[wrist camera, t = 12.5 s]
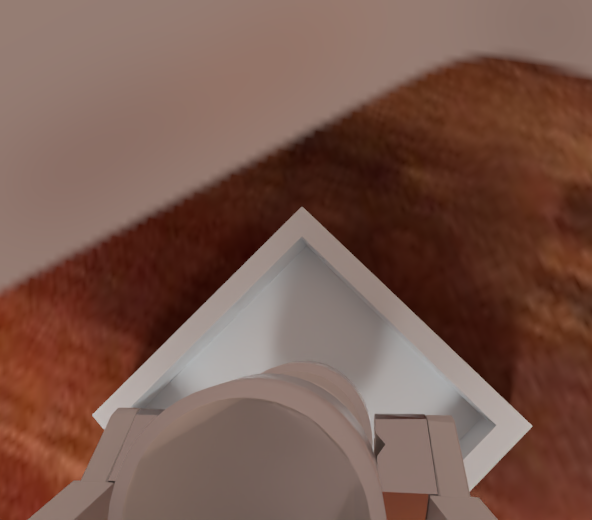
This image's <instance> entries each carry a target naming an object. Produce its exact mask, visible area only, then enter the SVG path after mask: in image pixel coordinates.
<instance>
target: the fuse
mask: <svg viewBox="0 0 592 520" xmlns="http://www.w3.org/2000/svg"><path fill="white" fill-rule="evenodd" d="M372 447H373V440H372V430H371V424H370V419H369V414H368V410H367V407H366V404H365V401H364V399H363V397H362V395H361V394H360V392H359V391H358V389H357V388H356V386H355V385H354V384H353V383H352V382H351V380H349V379H348V378H347V377H346V376H345V375H344V374H342V373H341V372H340V371H338V370H337V369H335V368H333V367H331V366H329V365H326V364H323V363H319V362H315V361H294V362H289V363H286V364H283V365H279V366H276V367H273V368H270V369H268V370H266V371H264V372H262V373H260V374H255V375H250V376H244V377H241V378H238V379H234V380H231V381H228V382H225V383H222V384H218V385H215V386H212V387H209V388H206V389H203V390H200V391H197V392H194V393H192V394H190V395H188V396H186V397H184V398H182V399H180V400H179V401H177V402H176V403H174V404H173V405H171V406H170V407H168V408H167V409H165V410H164V411H163V412H162V413H161V414H160V415H158V416H157V417H156V418H155V419H154V420H153V421H152V422H151V423H150V424H149V425H148V426H147V427H146V428H145V430H144V431H143V432H142V433H141V434H140V435H139V437H138V438H137V440H136V441H135V443H134V444H133V446H132V447H131V449H130V450H129V452H128V454H127V456H126V458H125V460H124V462H123V464H122V466H121V468H120V470H119V473H118V476H117V479H116V481H115V484H114V488H113V492H112V496H111V500H110V506H109V514H108V520H387V519H386V512H385V506H384V500H383V494H382V488H381V483H380V477H379V472H378V467H377V462H376V458H375V455H374V452H373V449H372Z"/></svg>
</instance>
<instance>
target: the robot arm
mask: <svg viewBox="0 0 592 520" xmlns="http://www.w3.org/2000/svg"><path fill="white" fill-rule="evenodd" d="M164 410H165V409H147V408H117V410H116V411H115V412H114V413H113V414H112V415H111V417H110V419H109V422H108V424H107V426H106V428H105V430H104V432H103V434H102V436H101V438H100V441H99V443H98V445H97V447H96V449H95V451H94V453H93V455H92V458H91V460H90V462H89V464H88V466H87V468H86V470H85V472H84V474H83V477H82V479H81V481H73V482H71V483H70V484H69V485H68V486H67V487H66V488H64V489H63V490H62V491H61V492H60V493H59V494H57V495H56V496H55V497H54V498H53V499H51V500H50V501H49V502H48V503H47V504H46V505H44V506H43V507H42V508H41V509H40V510H39V511H37V512H36V513H35V514H34V515H33V516H32V517H30V518H29V519H28V520H108V514H109V506H110V500H111V496H112V492H113V488H114V484H115V481H116V479H117V476H118V473H119V470H120V468H121V466H122V464H123V462H124V460H125V458H126V456H127V454H128V452H129V450H130V449H131V447H132V446H133V444H134V443H135V441H136V440H137V438H138V437H139V435H140V434H141V433H142V432H143V431H144V430H145V428H146V427H147V426H148V425H149V424H150V423H151V422H152V421H153V420H154V419H155V418H156V417H157V416H158V415H160V414H161V413H162V412H163V411H164ZM374 436H375V438H374V455H375V458H376V462H377V467H378V472H379V477H380V483H381V488H382V494H383V500H384V506H385V512H386V519H387V520H498V519H497V518H496V517H495V516H494V515H493V513H492V512H491V511H490V510H489V509H488V508H487V506H486V505H485V504H484V503H483V502H482V501H481V500H480V498H477V497H471V496H470V492H469V487H468V482H467V477H466V473H465V468H464V463H463V458H462V453H461V449H460V444H459V439H458V434H457V429H456V425H455V420H454V419H453V417H452V416H451V415H424V414H375V415H374Z"/></svg>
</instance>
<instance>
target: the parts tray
mask: <svg viewBox="0 0 592 520" xmlns="http://www.w3.org/2000/svg"><path fill="white" fill-rule="evenodd" d="M294 361H315V362H319V363H323V364H326V365H329V366H331V367H333V368H335V369H337V370H338V371H340V372H341V373H342V374H344V375H345V376H346V377H347V378H348V379H349V380H351V382H352V383H353V384H354V385H355V386H356V388H357V389H358V391H359V392H360V394H361V395H362V397H363V399H364V401H365V404H366V407H367V410H368V414H369V419H370V424H371V430H372V440H373V447H372V449H373V452H374V438H375V436H374V415H375V414H424V415H451V416H452V417H453V419H454V420H455V425H456V429H457V434H458V439H459V444H460V449H461V453H462V458H463V463H464V468H465V473H466V477H467V482H468V487H469V492H470V491H471V490H472V489H473V488H474V487H475V486H476V485H477V484H478V483H479V481H480V480H481V479H482V478H483V477H484V476H485V475H486V474H487V473H488V472H489V471H490V470H491V469H492V468H493V467H494V466H495V465H496V464H497V463H498V462H499V461H500V460H501V459H502V458H503V457H504V455H505V454H506V453H507V452H508V451H509V450H510V449H511V448H512V447H513V446H514V445H515V444H516V443H517V442H518V441H519V440H520V439H521V438H522V437H523V436H524V435H525V434H526V433H527V432H528V431H529V430H530V428H531V427H532V425H531V424H530V423H529V422H528V421H527V420H526V419H525V418H524V417H522V416H521V415H520V414H519V413H518V412H517V411H516V410H515V409H514V408H513V407H512V406H511V405H510V404H509V403H508V402H507V401H506V400H505V399H504V398H503V397H502V396H500V395H499V394H498V393H497V392H496V391H495V390H494V389H493V388H492V387H491V386H490V385H489V384H488V383H487V382H486V381H485V380H484V379H483V378H482V377H481V376H480V375H478V374H477V373H476V372H475V371H474V370H473V369H472V368H471V367H470V366H469V365H468V364H467V363H466V362H465V361H464V360H463V359H462V358H461V357H460V356H459V355H457V354H456V353H455V352H454V351H453V350H452V349H451V348H450V347H449V346H448V345H447V344H446V343H445V342H444V341H443V340H442V339H441V338H440V337H439V336H438V335H437V334H435V333H434V332H433V331H432V330H431V329H430V328H429V327H428V326H427V325H426V324H425V323H424V322H423V321H422V320H421V319H420V318H419V317H418V316H417V315H416V314H415V313H413V312H412V311H411V310H410V309H409V308H408V307H407V306H406V305H405V304H404V303H403V302H402V301H401V300H400V299H399V298H398V297H397V296H396V295H395V294H394V293H392V292H391V291H390V290H389V289H388V288H387V287H386V286H385V285H384V284H383V283H382V282H381V281H380V280H379V279H378V278H377V277H376V276H375V275H374V274H373V273H372V272H370V271H369V270H368V269H367V268H366V267H365V266H364V265H363V264H362V263H361V262H360V261H359V260H358V259H357V258H356V257H355V256H354V255H353V254H352V253H351V252H350V251H348V250H347V249H346V248H345V247H344V246H343V245H342V244H341V243H340V242H339V241H338V240H337V239H336V238H335V237H334V236H333V235H332V234H331V233H330V232H329V231H328V230H326V229H325V228H324V227H323V226H322V225H321V224H320V223H319V222H318V221H317V220H316V219H315V218H314V217H313V216H312V215H311V214H310V213H309V212H308V211H307V210H305V209H304V208H303V207H301V208H300V209H299V210H298V211H297V212H296V213H295V214H294V215H293V216H292V217H291V218H290V219H289V220H288V221H287V222H286V223H285V224H284V225H283V226H282V227H281V228H280V229H279V230H278V231H277V232H276V233H275V234H274V235H273V236H272V237H271V238H270V239H269V240H268V241H267V242H265V243H264V244H263V245H262V246H261V247H260V248H259V249H258V250H257V251H256V252H255V253H254V254H253V255H252V256H251V257H250V258H249V259H248V260H247V261H246V262H245V263H244V264H243V265H242V266H241V267H240V268H239V269H238V270H237V271H236V272H235V273H234V274H233V275H232V276H231V277H230V278H229V279H228V280H227V281H226V282H225V283H224V284H223V285H222V286H221V287H220V288H219V289H218V290H217V291H216V292H215V293H214V294H213V295H212V296H211V297H210V298H209V299H208V300H207V301H206V302H205V303H204V304H203V305H202V306H201V307H200V308H199V309H198V310H197V311H196V312H195V313H194V314H193V315H192V316H191V317H190V318H189V319H188V320H187V321H186V322H185V323H184V324H183V325H182V326H181V327H180V328H179V329H178V330H177V331H176V332H175V333H174V334H173V335H172V336H171V337H170V338H169V339H168V340H167V341H166V342H165V343H164V344H163V345H162V346H161V347H160V348H159V349H158V350H157V351H156V352H155V353H154V354H153V355H152V356H151V357H150V358H149V359H148V360H147V361H146V362H145V363H144V364H143V365H142V366H141V367H140V368H139V369H138V370H137V371H136V372H135V373H134V374H133V375H132V376H131V377H130V378H129V379H128V380H127V381H126V382H125V383H124V384H123V385H122V386H121V387H120V388H119V389H118V390H117V391H116V392H115V393H114V394H113V395H112V396H111V397H110V398H109V399H108V400H107V401H106V402H105V403H104V404H103V405H102V406H101V407H100V408H99V409H98V410H97V411H96V412H95V413H94V414H93V415H92V416H93V417H94V418H95V419H96V421H97V422H98V423H99V424H100V426H101V427H102V428H103V429H104V430H105V428H106V426H107V424H108V422H109V419H110V417H111V415H112V414H113V413H114V412H115V411H116V410H117V408H147V409H167V408H168V407H170V406H171V405H173V404H174V403H176V402H177V401H179V400H180V399H182V398H184V397H186V396H188V395H190V394H192V393H194V392H197V391H200V390H203V389H206V388H209V387H212V386H215V385H218V384H222V383H225V382H228V381H231V380H234V379H238V378H241V377H244V376H250V375H255V374H260V373H262V372H264V371H266V370H268V369H270V368H273V367H276V366H279V365H283V364H286V363H289V362H294Z"/></svg>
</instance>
